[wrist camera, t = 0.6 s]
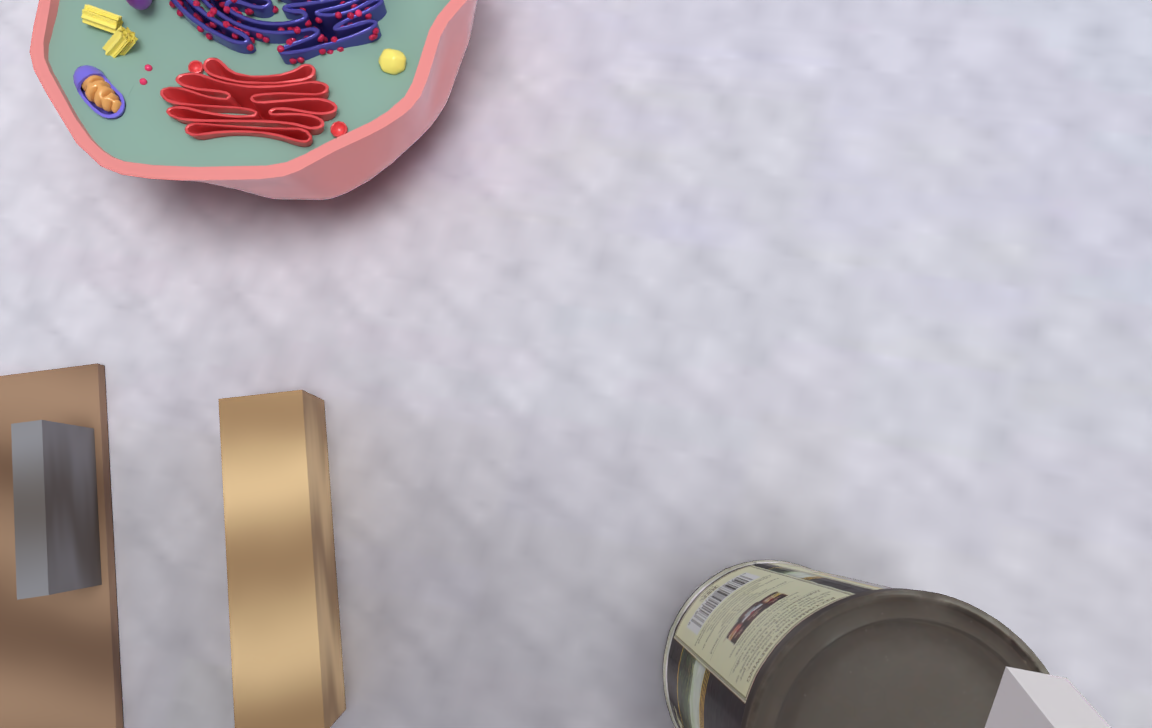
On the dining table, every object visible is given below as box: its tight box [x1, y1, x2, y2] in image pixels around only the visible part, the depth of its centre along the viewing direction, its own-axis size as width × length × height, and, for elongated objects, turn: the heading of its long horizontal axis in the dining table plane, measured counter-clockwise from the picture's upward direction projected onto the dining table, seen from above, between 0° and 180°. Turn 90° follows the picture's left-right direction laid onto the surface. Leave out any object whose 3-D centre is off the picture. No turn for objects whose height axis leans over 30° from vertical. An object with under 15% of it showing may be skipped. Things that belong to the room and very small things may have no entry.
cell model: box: [30, 0, 478, 200], centre depth 35 cm, size 17×20×11 cm
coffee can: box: [663, 560, 1050, 728], centre depth 30 cm, size 10×10×14 cm
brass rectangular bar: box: [219, 390, 346, 728], centre depth 35 cm, size 14×4×4 cm, turn 7°
